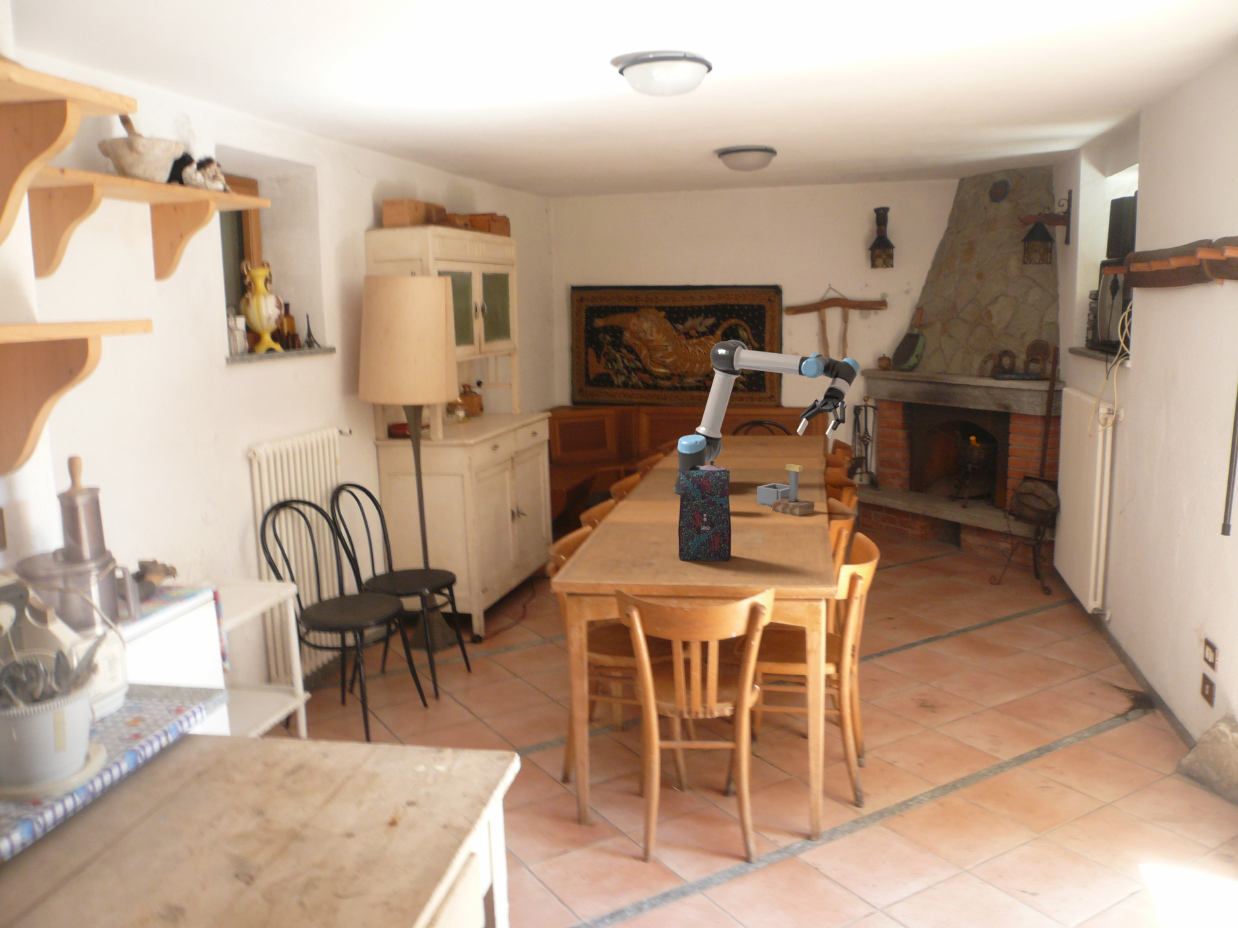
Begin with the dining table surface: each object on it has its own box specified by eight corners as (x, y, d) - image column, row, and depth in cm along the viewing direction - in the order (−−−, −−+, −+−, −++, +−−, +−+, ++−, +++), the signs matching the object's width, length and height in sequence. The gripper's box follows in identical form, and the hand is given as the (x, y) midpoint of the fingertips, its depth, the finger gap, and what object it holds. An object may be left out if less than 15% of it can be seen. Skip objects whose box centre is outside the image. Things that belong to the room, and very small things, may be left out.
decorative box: (679, 553, 308) (679, 467, 303) (730, 554, 306) (731, 468, 301) (678, 560, 300) (678, 472, 295) (730, 561, 298) (731, 473, 293)
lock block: (772, 511, 367) (772, 501, 366) (787, 507, 374) (788, 497, 373) (798, 516, 358) (798, 505, 358) (813, 511, 365) (814, 501, 365)
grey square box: (756, 504, 379) (756, 487, 378) (773, 499, 387) (773, 482, 386) (779, 508, 371) (780, 490, 370) (797, 504, 379) (797, 486, 378)
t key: (784, 510, 367) (785, 464, 364) (788, 509, 369) (789, 463, 366) (797, 513, 363) (798, 466, 360) (801, 512, 365) (802, 465, 362)
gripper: (867, 400, 370) (844, 443, 363) (814, 397, 389) (791, 438, 381) (859, 387, 366) (836, 431, 359) (806, 385, 384) (783, 426, 377)
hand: (813, 434), depth 370 cm, fingers open, 13 cm apart
